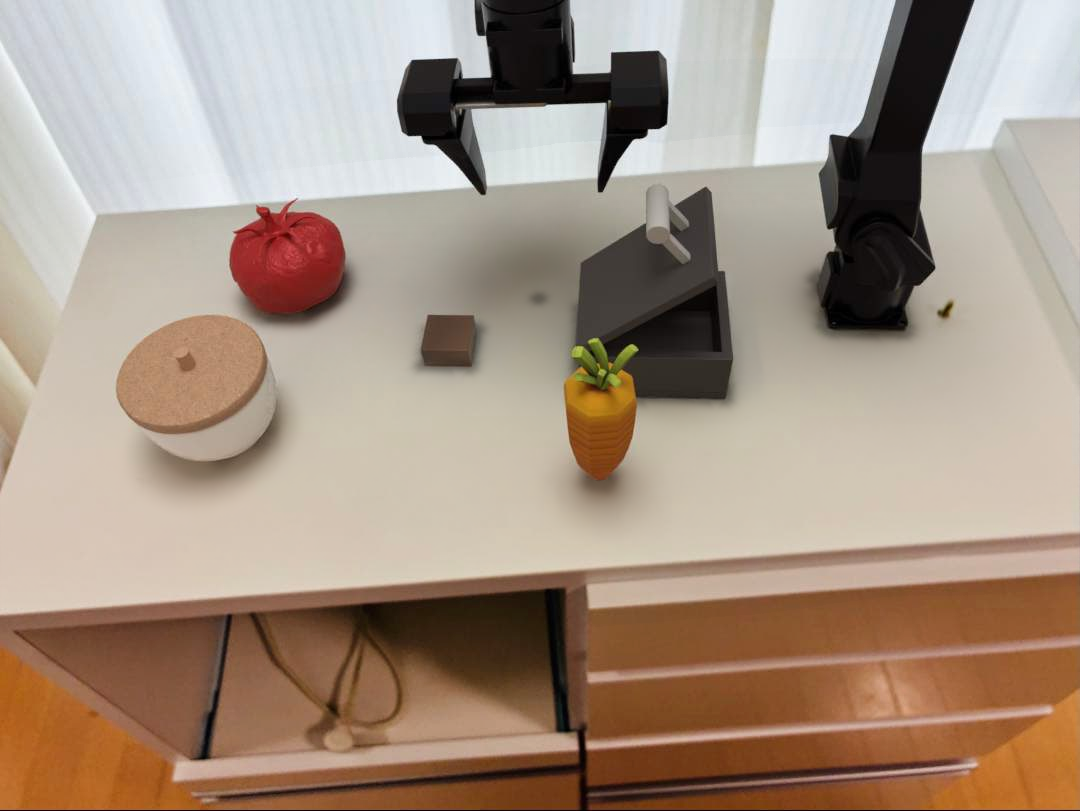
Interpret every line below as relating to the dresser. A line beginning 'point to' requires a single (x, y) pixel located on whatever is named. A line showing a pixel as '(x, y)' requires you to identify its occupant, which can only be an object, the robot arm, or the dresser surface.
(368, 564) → the dresser surface
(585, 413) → the carrot
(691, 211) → the box lid
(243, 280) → the red tomato
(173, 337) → the trinket box
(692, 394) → the box
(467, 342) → the walnut block
